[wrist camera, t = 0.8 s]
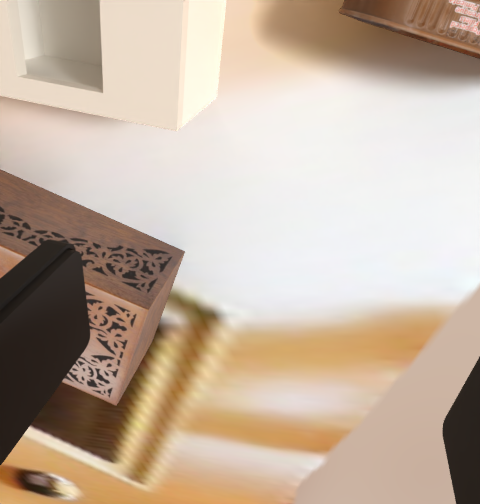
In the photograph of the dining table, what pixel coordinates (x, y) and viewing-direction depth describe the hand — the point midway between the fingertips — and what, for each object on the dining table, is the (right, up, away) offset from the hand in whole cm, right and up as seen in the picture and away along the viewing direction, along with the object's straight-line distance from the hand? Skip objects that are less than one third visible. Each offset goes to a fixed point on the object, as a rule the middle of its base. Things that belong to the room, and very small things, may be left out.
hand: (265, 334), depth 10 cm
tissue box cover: (-20, +2, +39) cm, 44 cm away
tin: (+14, +18, +20) cm, 31 cm away
